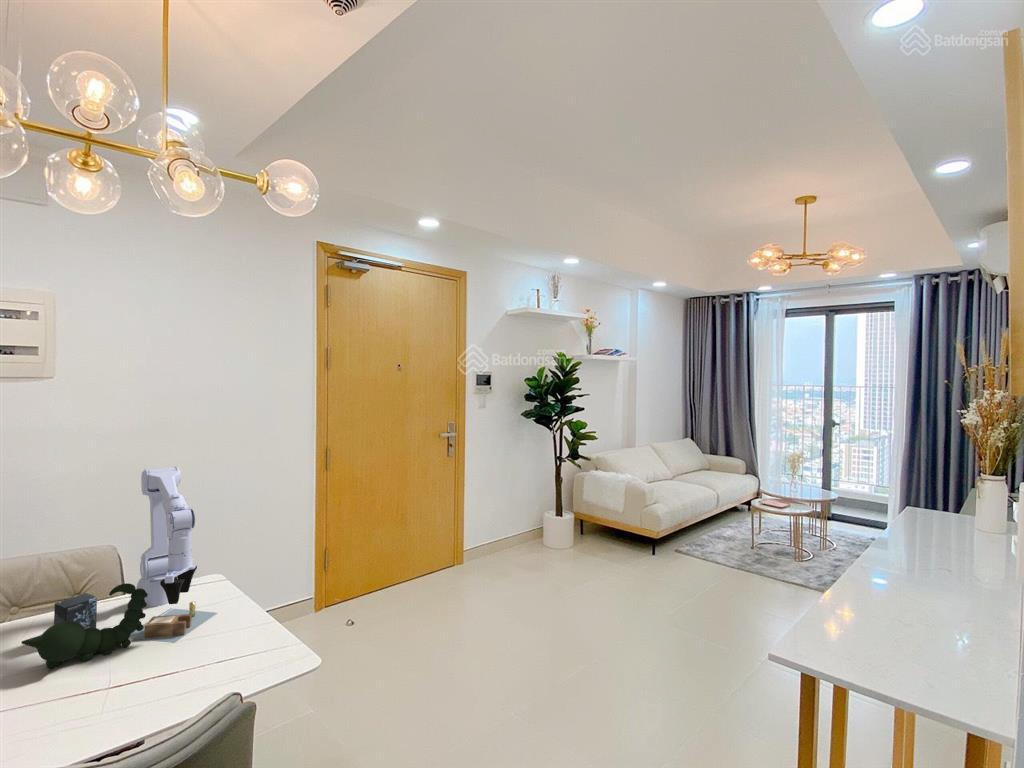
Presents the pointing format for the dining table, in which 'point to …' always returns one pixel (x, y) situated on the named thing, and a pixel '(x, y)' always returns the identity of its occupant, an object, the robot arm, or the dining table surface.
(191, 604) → the peg
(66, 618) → the box
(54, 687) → the dining table surface
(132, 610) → the toy figurine
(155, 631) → the wooden holder
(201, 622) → the board
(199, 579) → the dining table surface
